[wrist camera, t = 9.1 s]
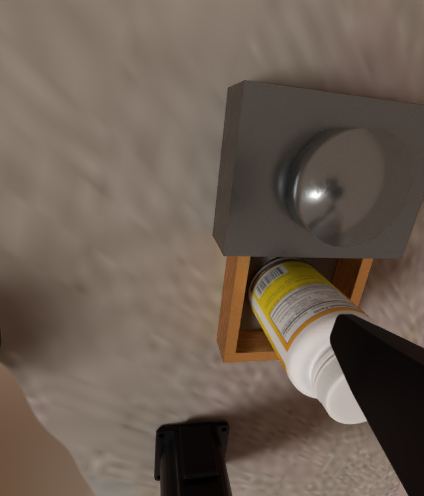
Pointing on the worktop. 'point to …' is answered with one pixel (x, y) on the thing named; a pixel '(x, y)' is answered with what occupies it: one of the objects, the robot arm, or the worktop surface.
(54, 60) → the worktop surface
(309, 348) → the supplement bottle
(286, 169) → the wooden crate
